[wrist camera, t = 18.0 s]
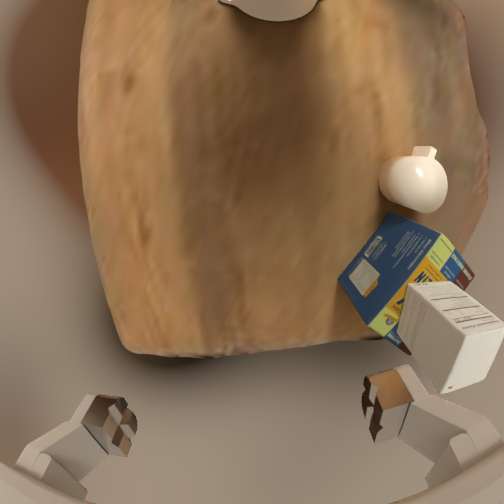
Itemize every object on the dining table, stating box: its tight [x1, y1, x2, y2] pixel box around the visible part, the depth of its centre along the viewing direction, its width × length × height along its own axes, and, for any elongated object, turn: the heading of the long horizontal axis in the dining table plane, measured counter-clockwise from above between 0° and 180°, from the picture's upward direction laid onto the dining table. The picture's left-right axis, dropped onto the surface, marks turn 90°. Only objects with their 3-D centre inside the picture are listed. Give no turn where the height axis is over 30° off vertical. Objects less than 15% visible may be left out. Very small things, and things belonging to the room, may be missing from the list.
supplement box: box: [396, 281, 504, 394], centre depth 25 cm, size 7×7×13 cm
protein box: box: [338, 211, 475, 355], centre depth 38 cm, size 10×15×16 cm
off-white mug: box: [378, 146, 448, 213], centre depth 37 cm, size 10×8×9 cm
